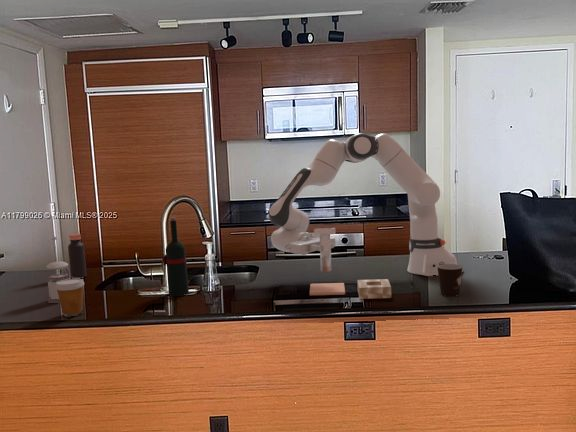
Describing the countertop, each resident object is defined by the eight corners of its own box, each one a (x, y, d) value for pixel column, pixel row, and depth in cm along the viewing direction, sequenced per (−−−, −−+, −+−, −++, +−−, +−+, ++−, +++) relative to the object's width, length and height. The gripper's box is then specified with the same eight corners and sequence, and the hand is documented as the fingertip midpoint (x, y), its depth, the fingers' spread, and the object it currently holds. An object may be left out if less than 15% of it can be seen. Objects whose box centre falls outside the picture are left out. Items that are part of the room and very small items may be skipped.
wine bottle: (165, 291, 214) (159, 216, 210) (190, 290, 214) (185, 215, 210) (160, 297, 206) (154, 219, 203) (186, 295, 206) (181, 218, 202)
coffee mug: (448, 298, 186) (447, 270, 185) (432, 293, 194) (432, 265, 193) (474, 293, 191) (474, 266, 189) (458, 288, 199) (458, 261, 197)
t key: (336, 269, 206) (335, 227, 203) (336, 271, 202) (335, 229, 200) (315, 269, 206) (314, 228, 204) (315, 271, 202) (313, 229, 200)
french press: (41, 304, 205) (34, 239, 201) (58, 295, 216) (52, 234, 213) (65, 303, 203) (58, 238, 200) (81, 295, 215) (75, 233, 211)
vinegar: (76, 280, 241) (72, 236, 239) (68, 278, 245) (63, 235, 243) (90, 276, 247) (85, 233, 244) (81, 275, 251) (77, 232, 248)
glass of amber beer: (91, 310, 193) (88, 277, 192) (80, 318, 184) (77, 284, 182) (65, 311, 194) (62, 278, 192) (53, 319, 184) (49, 285, 183)
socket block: (387, 289, 202) (387, 279, 201) (391, 297, 191) (391, 286, 190) (357, 290, 203) (357, 280, 202) (359, 298, 191) (359, 287, 191)
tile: (343, 285, 211) (343, 282, 211) (345, 294, 198) (345, 291, 198) (310, 286, 212) (310, 283, 212) (309, 295, 199) (309, 292, 199)
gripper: (281, 239, 205) (306, 243, 195) (320, 232, 219) (345, 235, 208) (282, 255, 206) (306, 260, 196) (320, 247, 219) (345, 251, 209)
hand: (326, 247), depth 202 cm, fingers closed on t key, 4 cm apart
